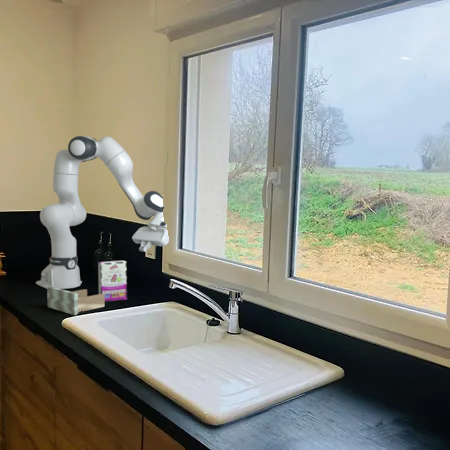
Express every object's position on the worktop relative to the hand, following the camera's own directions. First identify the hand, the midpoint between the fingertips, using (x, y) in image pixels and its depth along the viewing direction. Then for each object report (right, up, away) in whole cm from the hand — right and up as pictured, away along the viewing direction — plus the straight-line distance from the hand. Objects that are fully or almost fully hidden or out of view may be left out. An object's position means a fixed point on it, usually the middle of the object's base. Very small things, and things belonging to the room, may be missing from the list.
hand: (142, 250), depth 226 cm
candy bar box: (-11, -21, -11) cm, 26 cm away
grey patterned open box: (-21, -21, -24) cm, 38 cm away
